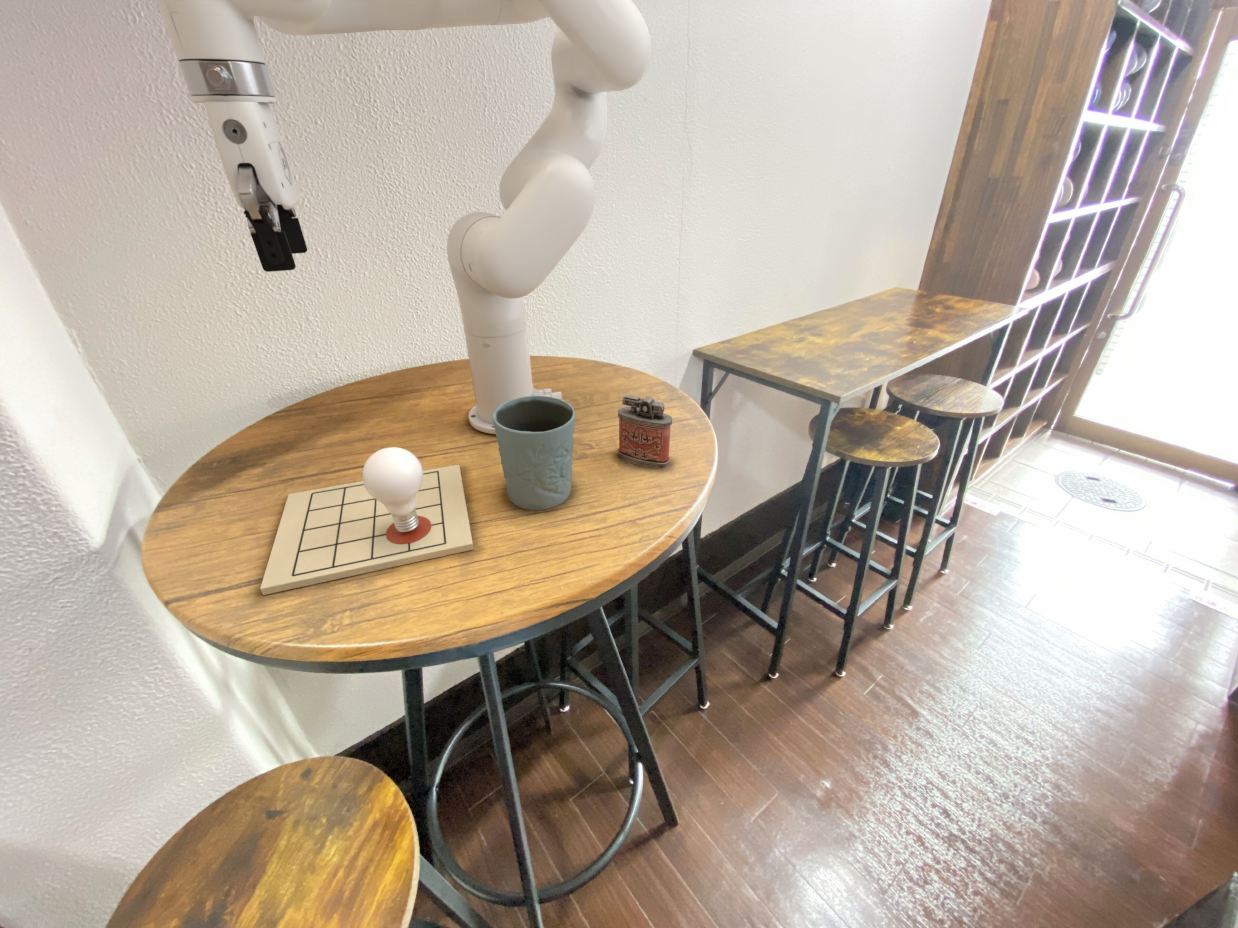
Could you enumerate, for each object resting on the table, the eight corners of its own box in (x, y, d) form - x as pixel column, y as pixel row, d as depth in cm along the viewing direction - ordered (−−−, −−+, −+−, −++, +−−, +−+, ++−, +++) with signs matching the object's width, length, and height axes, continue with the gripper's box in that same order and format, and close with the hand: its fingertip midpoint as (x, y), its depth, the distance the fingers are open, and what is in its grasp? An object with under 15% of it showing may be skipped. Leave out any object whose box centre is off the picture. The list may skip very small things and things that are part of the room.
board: (460, 469, 77) (459, 463, 76) (473, 549, 63) (472, 542, 62) (290, 499, 71) (288, 493, 70) (263, 595, 57) (259, 588, 56)
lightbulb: (404, 553, 60) (380, 473, 54) (368, 534, 63) (342, 456, 57) (447, 523, 65) (429, 446, 59) (411, 506, 68) (391, 431, 62)
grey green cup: (496, 480, 75) (484, 402, 68) (565, 464, 78) (560, 389, 72) (514, 522, 67) (502, 439, 60) (589, 502, 70) (586, 422, 64)
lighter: (672, 459, 79) (676, 398, 74) (664, 471, 76) (668, 409, 71) (623, 448, 82) (623, 388, 77) (614, 458, 79) (613, 397, 74)
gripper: (254, 82, 49) (313, 275, 58) (286, 90, 62) (329, 245, 72) (157, 80, 47) (234, 281, 56) (212, 89, 60) (266, 249, 70)
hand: (287, 261), depth 64 cm, fingers open, 9 cm apart
